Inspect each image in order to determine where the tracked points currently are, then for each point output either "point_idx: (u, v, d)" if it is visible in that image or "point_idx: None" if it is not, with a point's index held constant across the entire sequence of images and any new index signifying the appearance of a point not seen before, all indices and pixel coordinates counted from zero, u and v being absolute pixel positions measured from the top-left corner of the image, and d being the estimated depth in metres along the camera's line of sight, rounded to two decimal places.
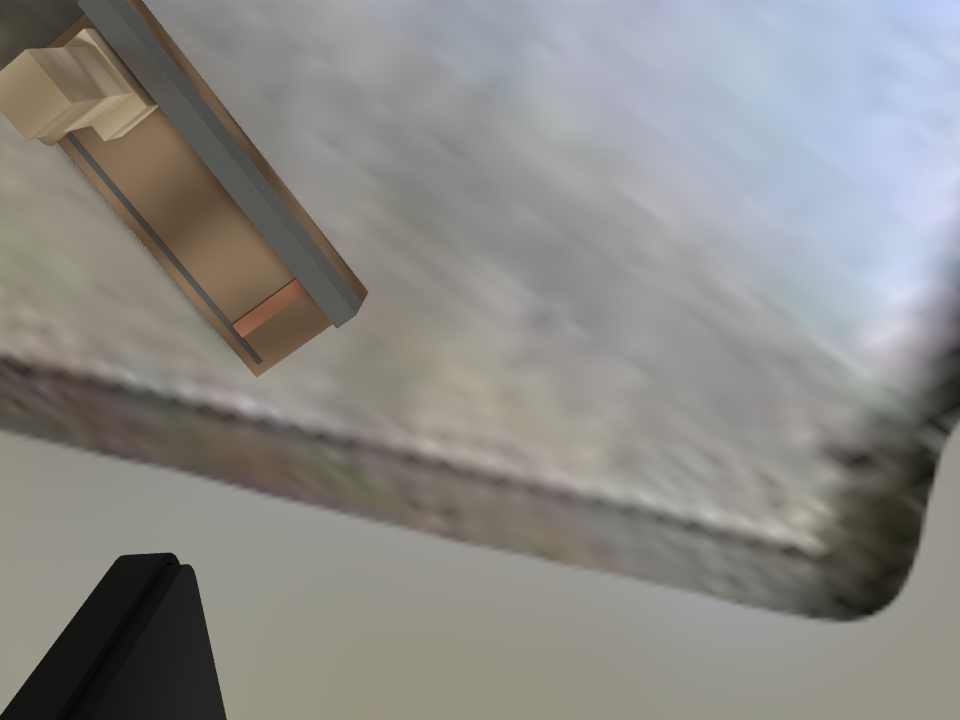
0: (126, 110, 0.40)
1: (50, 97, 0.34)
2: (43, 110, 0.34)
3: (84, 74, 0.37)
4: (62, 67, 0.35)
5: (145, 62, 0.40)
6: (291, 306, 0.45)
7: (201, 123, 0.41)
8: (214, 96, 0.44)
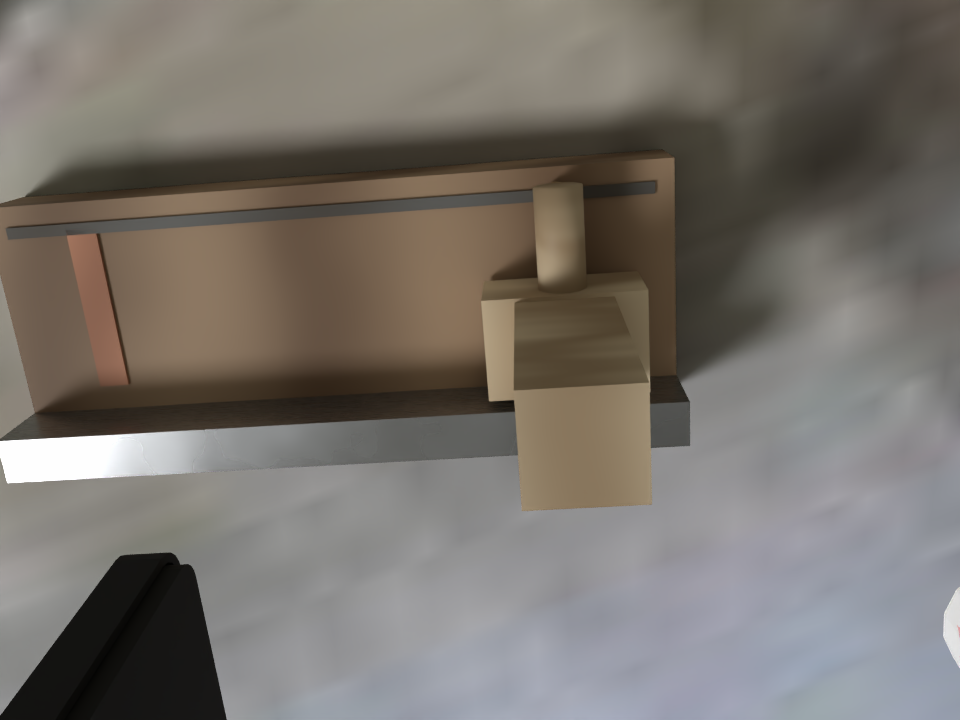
0: (503, 368, 0.22)
1: (553, 485, 0.17)
2: (541, 458, 0.16)
3: None
4: None
5: None
6: (85, 346, 0.25)
7: (418, 454, 0.23)
8: None
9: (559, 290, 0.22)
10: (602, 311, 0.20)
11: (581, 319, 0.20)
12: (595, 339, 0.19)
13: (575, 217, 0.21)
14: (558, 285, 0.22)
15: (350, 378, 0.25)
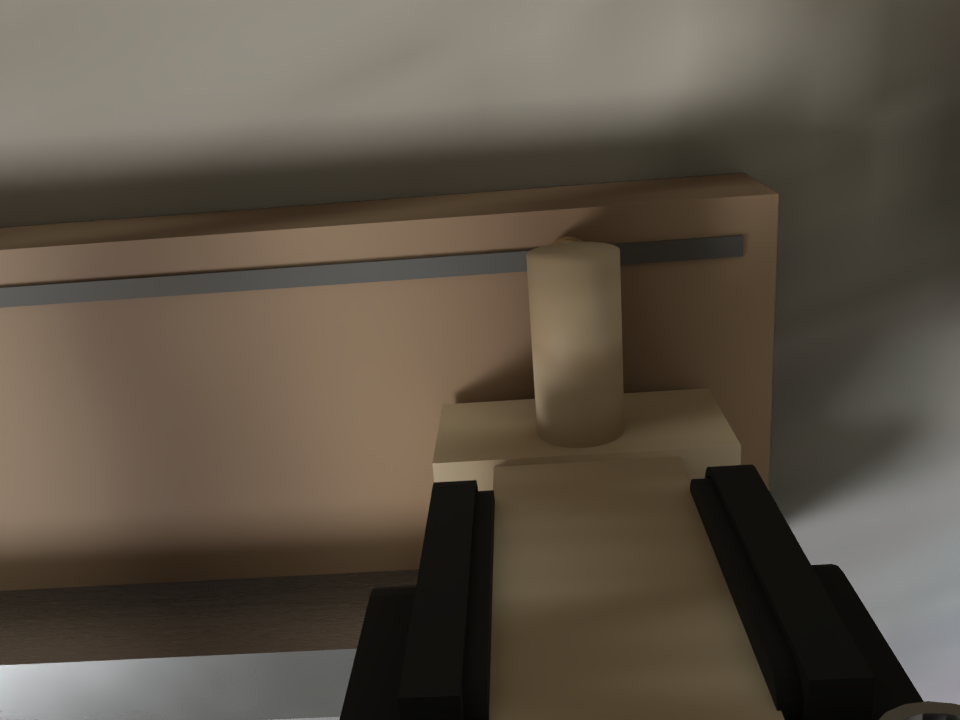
0: None
1: None
2: None
3: None
4: None
5: None
6: None
7: (330, 707, 0.14)
8: None
9: (576, 443, 0.12)
10: (662, 505, 0.11)
11: (624, 531, 0.10)
12: (663, 611, 0.09)
13: (607, 313, 0.11)
14: (574, 433, 0.12)
15: (224, 555, 0.15)
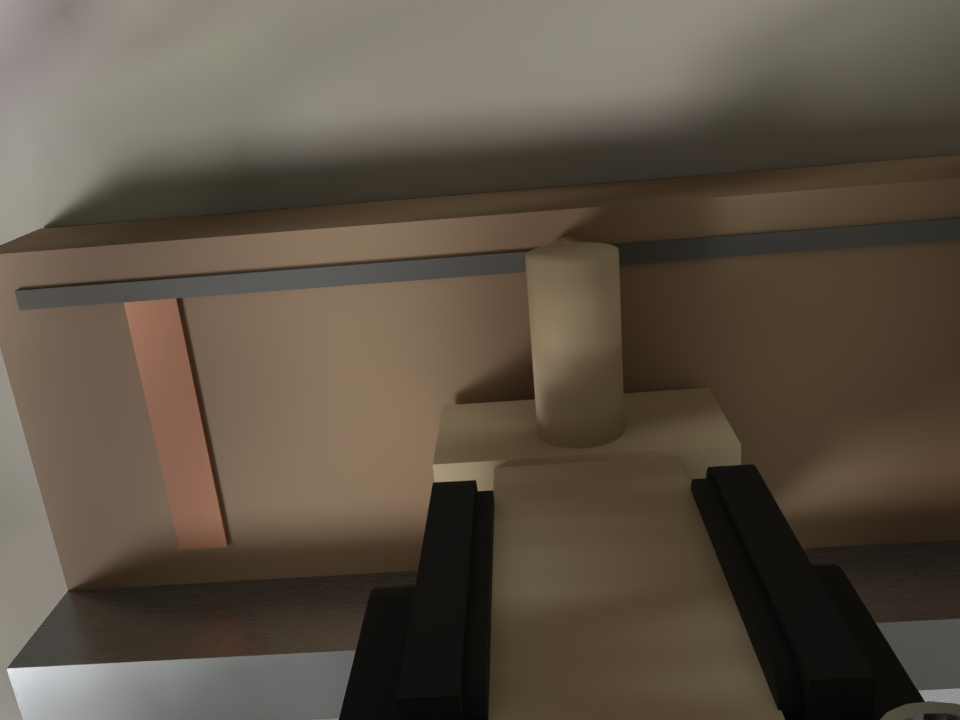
0: None
1: None
2: None
3: None
4: None
5: None
6: (155, 485, 0.15)
7: None
8: None
9: (576, 443, 0.12)
10: (662, 505, 0.11)
11: (624, 531, 0.10)
12: (663, 610, 0.09)
13: (606, 314, 0.11)
14: (574, 434, 0.12)
15: None
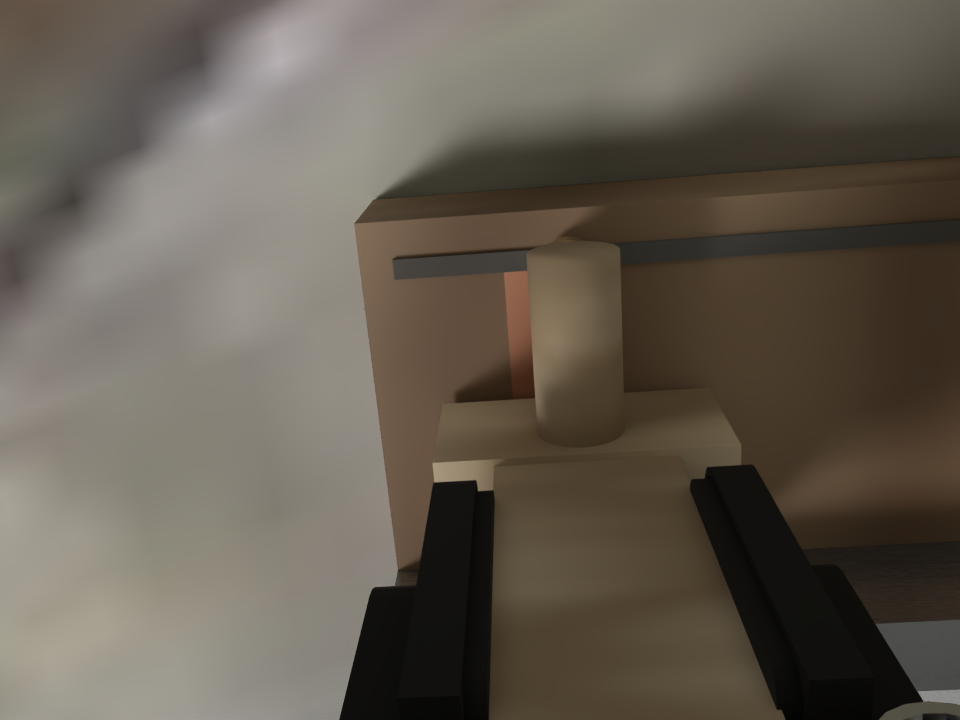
0: None
1: None
2: None
3: None
4: None
5: None
6: None
7: None
8: None
9: (576, 442, 0.12)
10: (663, 504, 0.11)
11: (624, 530, 0.10)
12: (663, 610, 0.09)
13: (607, 313, 0.11)
14: (574, 433, 0.12)
15: None
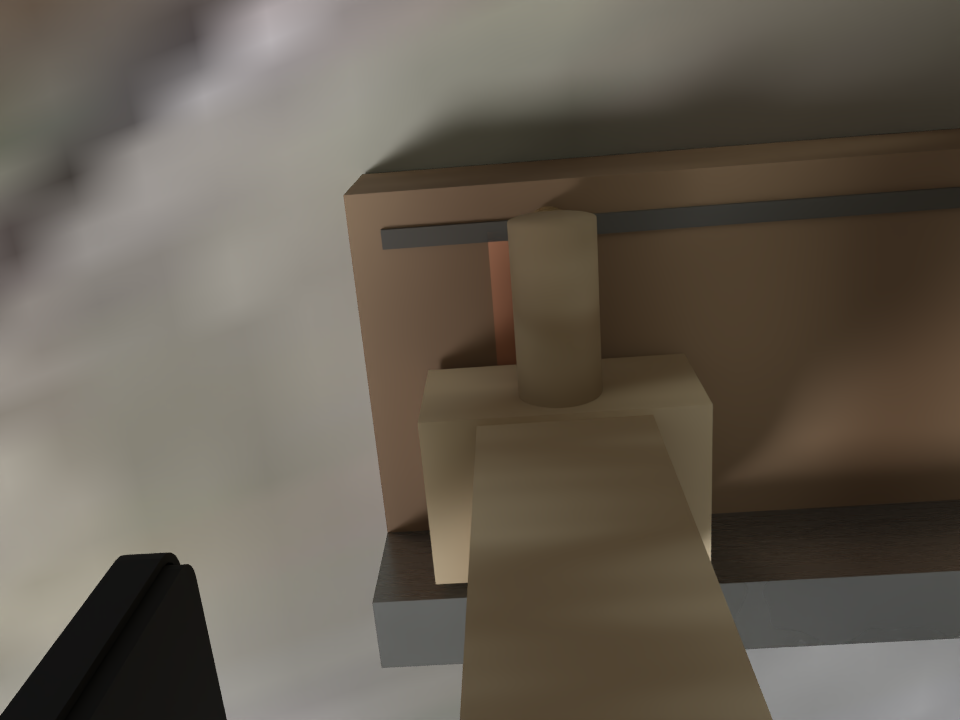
0: (459, 531, 0.13)
1: None
2: None
3: None
4: None
5: None
6: None
7: None
8: None
9: (555, 403, 0.12)
10: (636, 458, 0.11)
11: (599, 481, 0.11)
12: (633, 550, 0.09)
13: (584, 278, 0.12)
14: (553, 394, 0.12)
15: (932, 476, 0.15)
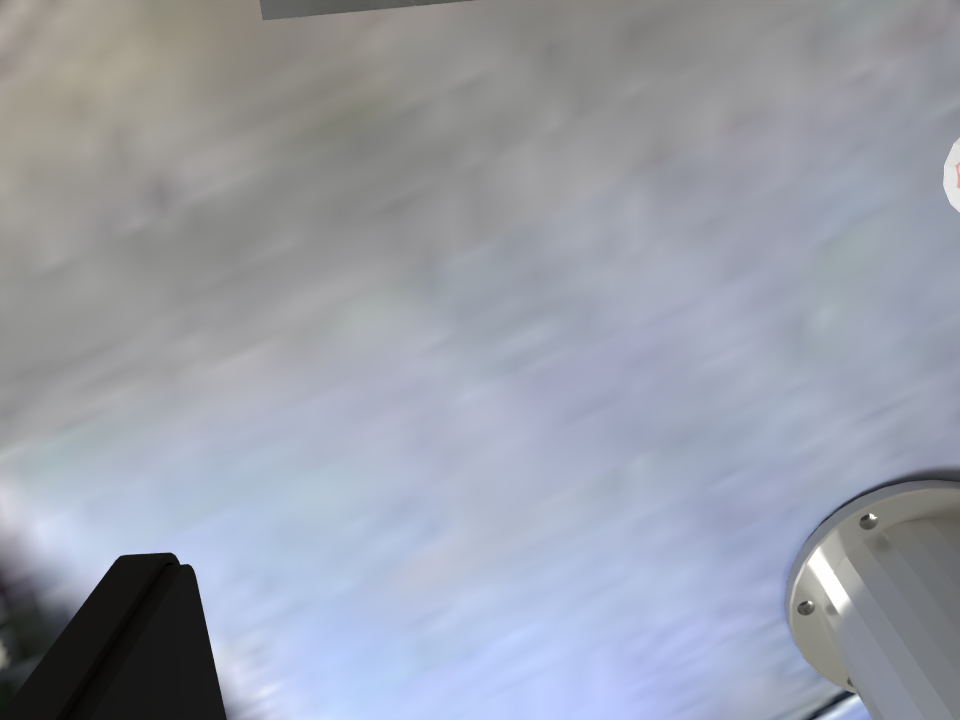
0: None
1: None
2: None
3: None
4: None
5: None
6: None
7: None
8: None
9: None
10: None
11: None
12: None
13: None
14: None
15: None
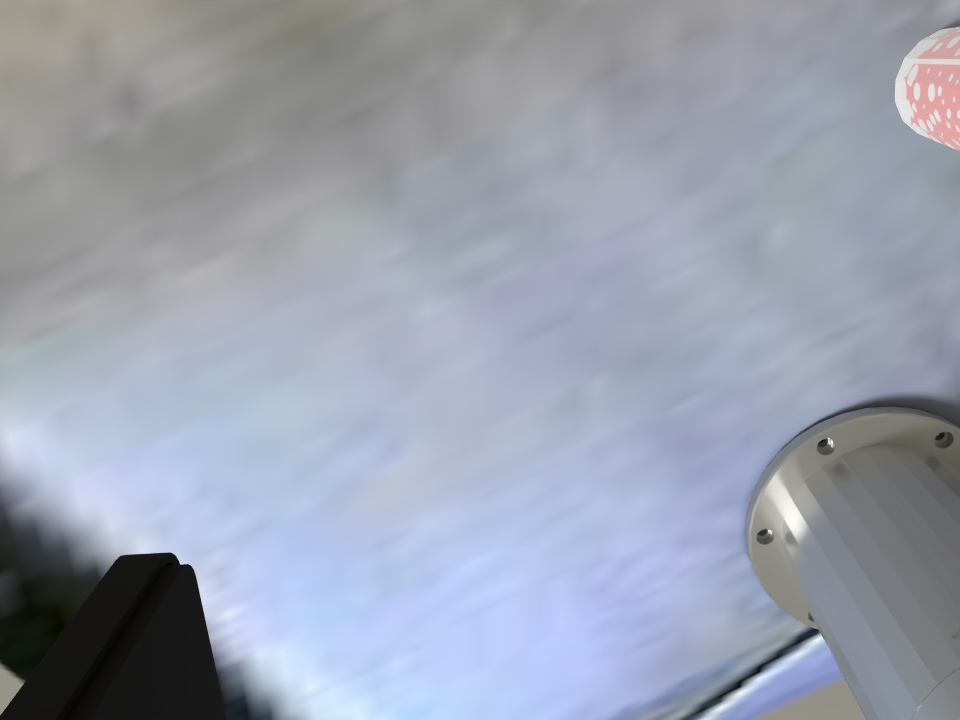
0: None
1: None
2: None
3: None
4: None
5: None
6: None
7: None
8: None
9: None
10: None
11: None
12: None
13: None
14: None
15: None
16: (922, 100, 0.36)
